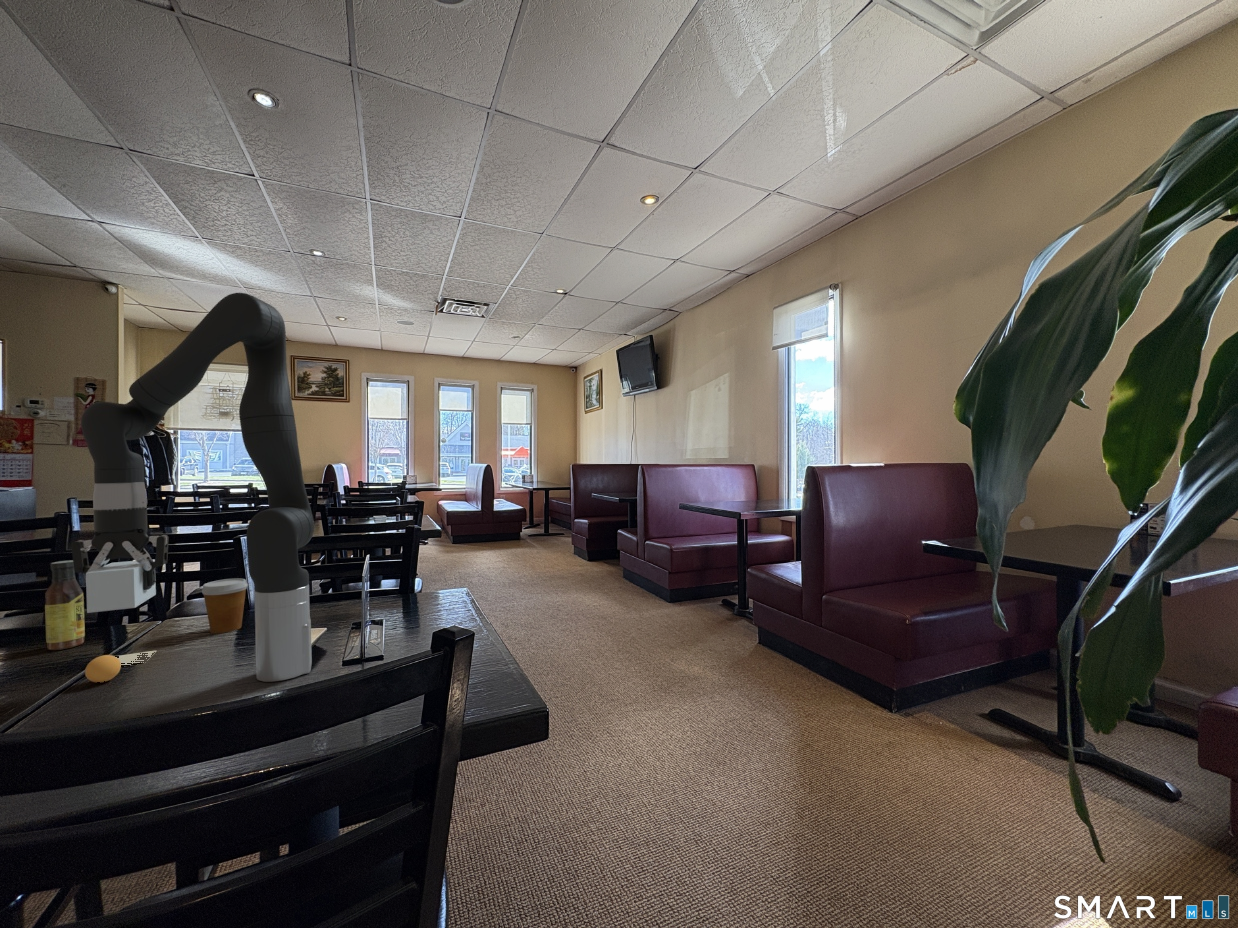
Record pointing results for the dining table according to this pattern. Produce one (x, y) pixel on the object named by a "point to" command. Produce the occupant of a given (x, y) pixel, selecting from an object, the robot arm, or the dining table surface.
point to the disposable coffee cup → (225, 604)
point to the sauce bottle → (64, 608)
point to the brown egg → (103, 668)
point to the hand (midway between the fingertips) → (123, 590)
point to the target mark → (133, 657)
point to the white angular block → (116, 587)
